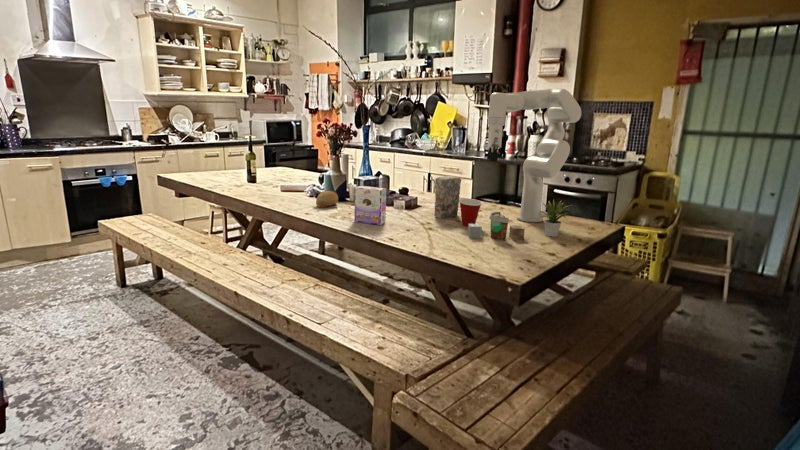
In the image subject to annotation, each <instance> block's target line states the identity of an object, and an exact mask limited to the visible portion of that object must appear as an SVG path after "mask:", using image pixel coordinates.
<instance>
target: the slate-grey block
mask: <svg viewBox="0 0 800 450" xmlns="http://www.w3.org/2000/svg"><path fill="white" fill-rule="evenodd" d="M482 229H483V226H482V225H481V224H480V223H475V224H468V227H467V237H468V238H469V239H482Z"/></svg>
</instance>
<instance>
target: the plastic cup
mask: <svg viewBox="0 0 800 450" xmlns="http://www.w3.org/2000/svg"><path fill="white" fill-rule="evenodd" d="M482 205H483V202H482V201H481V200H478V199H475V198H469V197H468V198H459V206H460V218H461V224H462V226H463V227H464V228H468V224H477V219H478V215H479V211H480V208H481V206H482Z"/></svg>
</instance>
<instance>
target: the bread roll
mask: <svg viewBox="0 0 800 450" xmlns="http://www.w3.org/2000/svg"><path fill="white" fill-rule="evenodd" d="M338 195H339V194H337V192H335V191H331V190H324V191H321V192H320V193H319V194H318V195H317V197H316V200H315V201H316V202H315V204H316V206H317V207H319V208H321V209H322V208H327V207H330V206H333V205H336V204H337V203H338V201H339V196H338Z"/></svg>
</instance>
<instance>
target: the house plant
mask: <svg viewBox="0 0 800 450" xmlns="http://www.w3.org/2000/svg"><path fill="white" fill-rule="evenodd" d="M564 203H565V202H562V199H561V200H560V201H559V202H558V204H556V203H555V198H553V200H552V203H551V201H550V199H549V200H548V204H545V203H544V202H542V205H543V206H544V208H545V209H546V210H547V211H546V212H545V211H542V210H540V212H542V213H544V214H546V213H547V214H548V215H547V214H546V215H547V216H548V217H546V218H547V219H545V220H544V234H545V236H546V235H547V237H550V236H552V237H551V238H553V237H554V238H556V237H558V235H559V232H560V227H561V224H562V222H561V221H560V220H559V219H561V218H562V217H563V218H565V219H567V214H568V212H565V213H562V212H563V211H569V210H571V209H570V208H569V207H571V206H573V204H571V205H565V206H563V205H564Z"/></svg>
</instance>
